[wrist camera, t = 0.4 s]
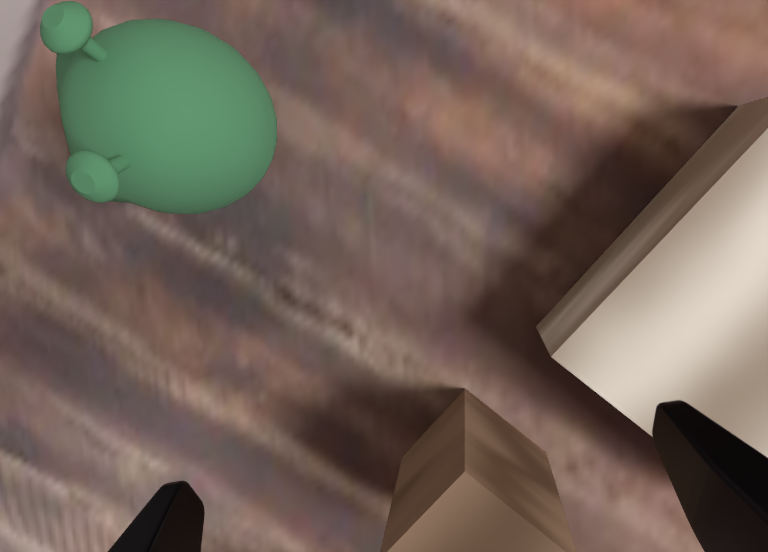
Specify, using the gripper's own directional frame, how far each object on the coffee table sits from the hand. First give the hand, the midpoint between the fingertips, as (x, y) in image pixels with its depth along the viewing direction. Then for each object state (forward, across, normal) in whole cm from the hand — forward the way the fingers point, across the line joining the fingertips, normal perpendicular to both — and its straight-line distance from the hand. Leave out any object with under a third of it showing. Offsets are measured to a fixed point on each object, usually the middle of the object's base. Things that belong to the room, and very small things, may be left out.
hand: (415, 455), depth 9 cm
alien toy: (+18, +7, -2) cm, 19 cm away
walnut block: (+9, -2, +13) cm, 16 cm away
